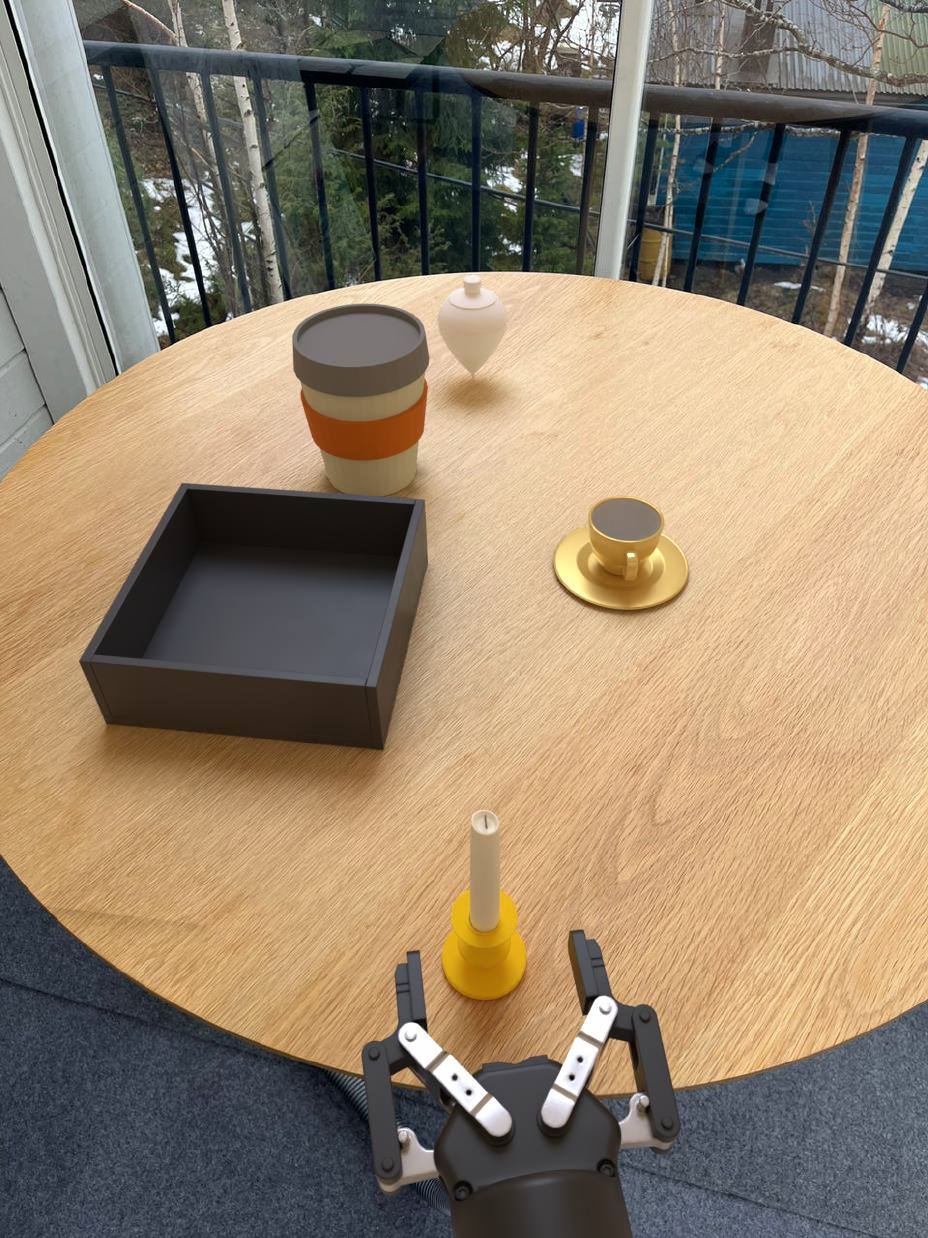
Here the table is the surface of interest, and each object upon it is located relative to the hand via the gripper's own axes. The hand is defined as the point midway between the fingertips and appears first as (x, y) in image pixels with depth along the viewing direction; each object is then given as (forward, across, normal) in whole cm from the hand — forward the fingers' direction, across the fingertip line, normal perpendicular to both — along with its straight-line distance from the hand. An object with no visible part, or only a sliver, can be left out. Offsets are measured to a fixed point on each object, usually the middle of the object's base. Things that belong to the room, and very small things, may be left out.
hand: (494, 946), depth 49 cm
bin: (+34, +13, +9) cm, 37 cm away
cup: (+38, -18, +9) cm, 43 cm away
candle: (+4, 0, +9) cm, 10 cm away
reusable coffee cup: (+56, +4, +9) cm, 57 cm away
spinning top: (+73, -9, +9) cm, 74 cm away
